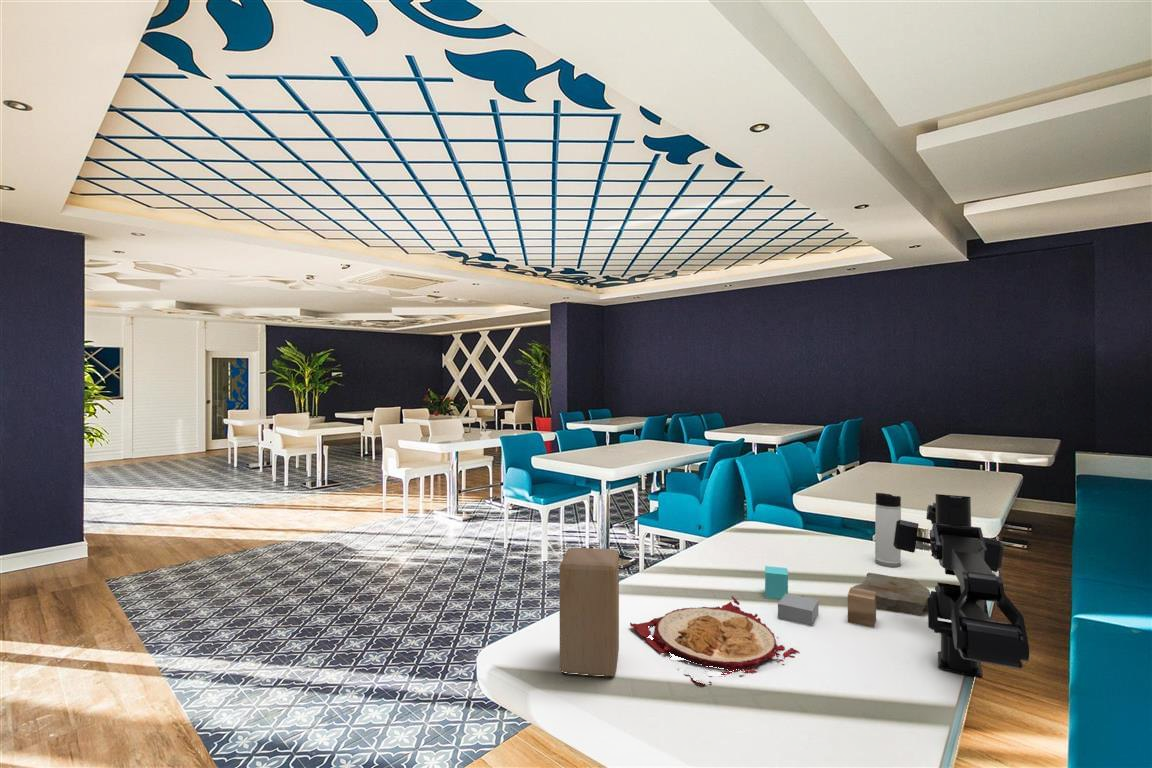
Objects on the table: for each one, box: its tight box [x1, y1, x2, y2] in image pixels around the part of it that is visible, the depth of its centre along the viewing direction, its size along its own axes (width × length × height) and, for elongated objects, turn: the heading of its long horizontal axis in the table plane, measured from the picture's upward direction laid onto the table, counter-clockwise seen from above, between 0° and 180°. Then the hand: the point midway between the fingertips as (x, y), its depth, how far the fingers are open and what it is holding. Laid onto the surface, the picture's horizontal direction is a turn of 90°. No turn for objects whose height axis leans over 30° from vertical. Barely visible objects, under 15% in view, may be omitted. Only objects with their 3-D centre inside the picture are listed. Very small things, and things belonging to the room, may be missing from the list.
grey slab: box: [777, 593, 820, 627], centre depth 124 cm, size 7×7×4 cm
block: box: [559, 547, 620, 677], centre depth 103 cm, size 10×10×20 cm
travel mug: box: [874, 492, 902, 568], centre depth 158 cm, size 6×7×20 cm
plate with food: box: [629, 595, 801, 686], centre depth 112 cm, size 25×26×4 cm
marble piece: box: [852, 572, 931, 616], centre depth 133 cm, size 17×15×4 cm
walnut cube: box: [847, 586, 877, 629], centre depth 121 cm, size 5×5×6 cm
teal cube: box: [764, 565, 789, 600], centre depth 136 cm, size 5×5×6 cm
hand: (940, 541), depth 125 cm, fingers open, 9 cm apart
